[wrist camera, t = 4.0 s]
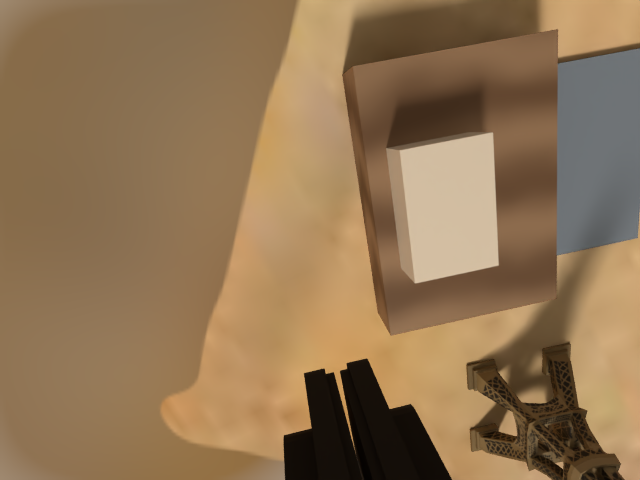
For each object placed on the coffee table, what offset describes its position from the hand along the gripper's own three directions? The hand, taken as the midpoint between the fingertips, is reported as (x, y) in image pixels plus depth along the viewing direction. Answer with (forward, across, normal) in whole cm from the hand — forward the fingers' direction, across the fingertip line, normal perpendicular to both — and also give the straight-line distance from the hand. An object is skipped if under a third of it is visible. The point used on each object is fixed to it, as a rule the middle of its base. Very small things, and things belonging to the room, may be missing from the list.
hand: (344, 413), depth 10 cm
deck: (+22, -13, 0) cm, 25 cm away
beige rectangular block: (+16, -10, 0) cm, 19 cm away
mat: (+22, -25, 0) cm, 33 cm away
